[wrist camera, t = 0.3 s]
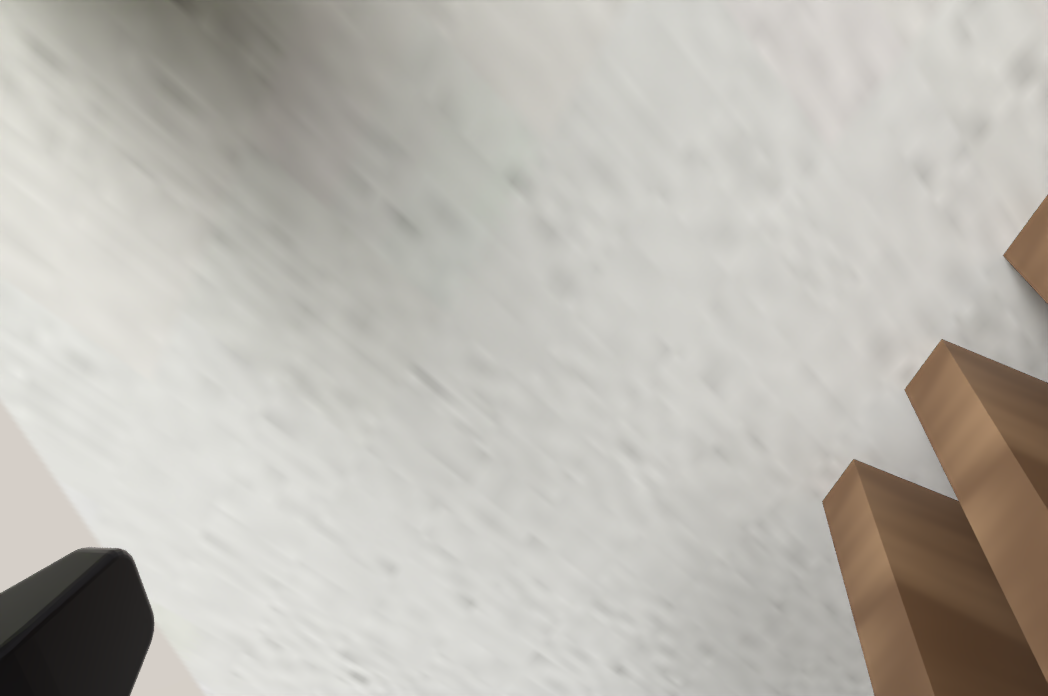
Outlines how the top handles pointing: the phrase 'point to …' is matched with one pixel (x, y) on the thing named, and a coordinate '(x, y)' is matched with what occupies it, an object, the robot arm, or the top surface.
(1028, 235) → the tile
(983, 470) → the tile
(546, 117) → the top surface
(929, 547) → the tile
